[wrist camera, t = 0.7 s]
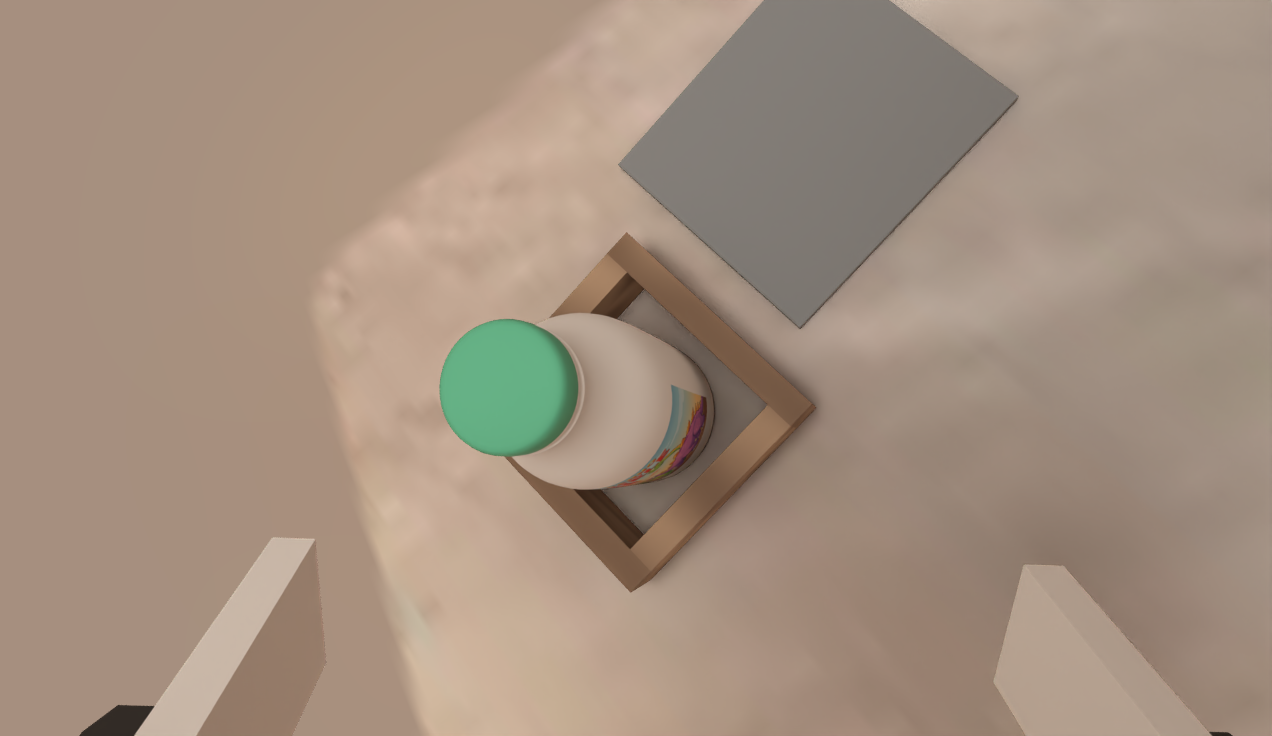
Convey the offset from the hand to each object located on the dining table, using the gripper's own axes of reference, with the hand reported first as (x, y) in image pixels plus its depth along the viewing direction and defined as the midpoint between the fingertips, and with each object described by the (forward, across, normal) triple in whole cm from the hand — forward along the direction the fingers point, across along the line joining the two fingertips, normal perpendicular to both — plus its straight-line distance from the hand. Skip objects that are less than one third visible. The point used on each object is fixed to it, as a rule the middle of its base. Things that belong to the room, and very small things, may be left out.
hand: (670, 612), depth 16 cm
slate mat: (+34, +9, +6) cm, 36 cm away
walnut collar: (+30, +1, -9) cm, 31 cm away
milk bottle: (+30, +1, -9) cm, 31 cm away
